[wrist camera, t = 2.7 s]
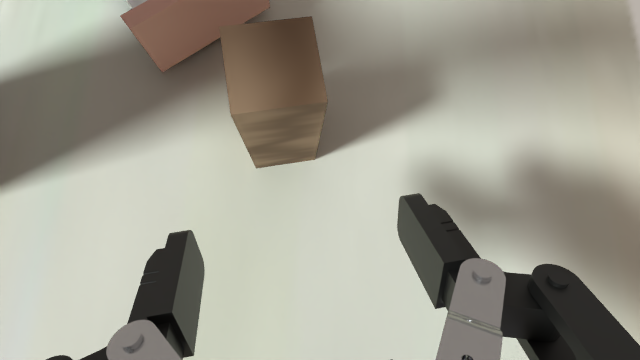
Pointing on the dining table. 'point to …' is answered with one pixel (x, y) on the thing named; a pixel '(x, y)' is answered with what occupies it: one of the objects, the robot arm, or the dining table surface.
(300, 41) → the walnut block
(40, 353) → the dining table surface
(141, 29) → the dock tray
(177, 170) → the dining table surface
